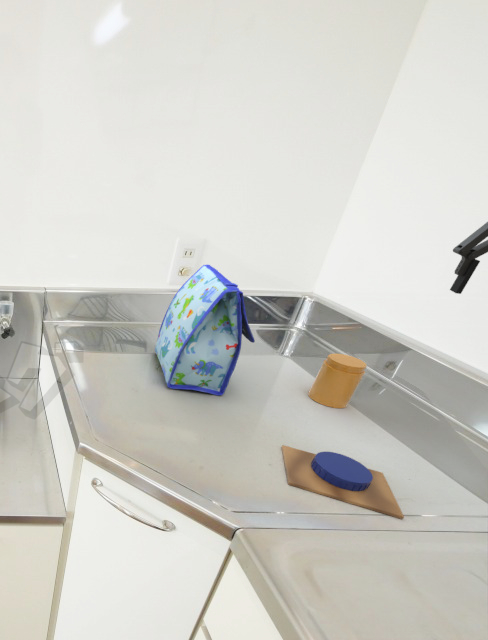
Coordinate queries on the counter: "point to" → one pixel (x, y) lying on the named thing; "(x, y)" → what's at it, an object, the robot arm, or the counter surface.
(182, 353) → the lunch bag
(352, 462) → the jar lid
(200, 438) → the counter surface
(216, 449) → the counter surface
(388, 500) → the wooden cutting board
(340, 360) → the jam jar
